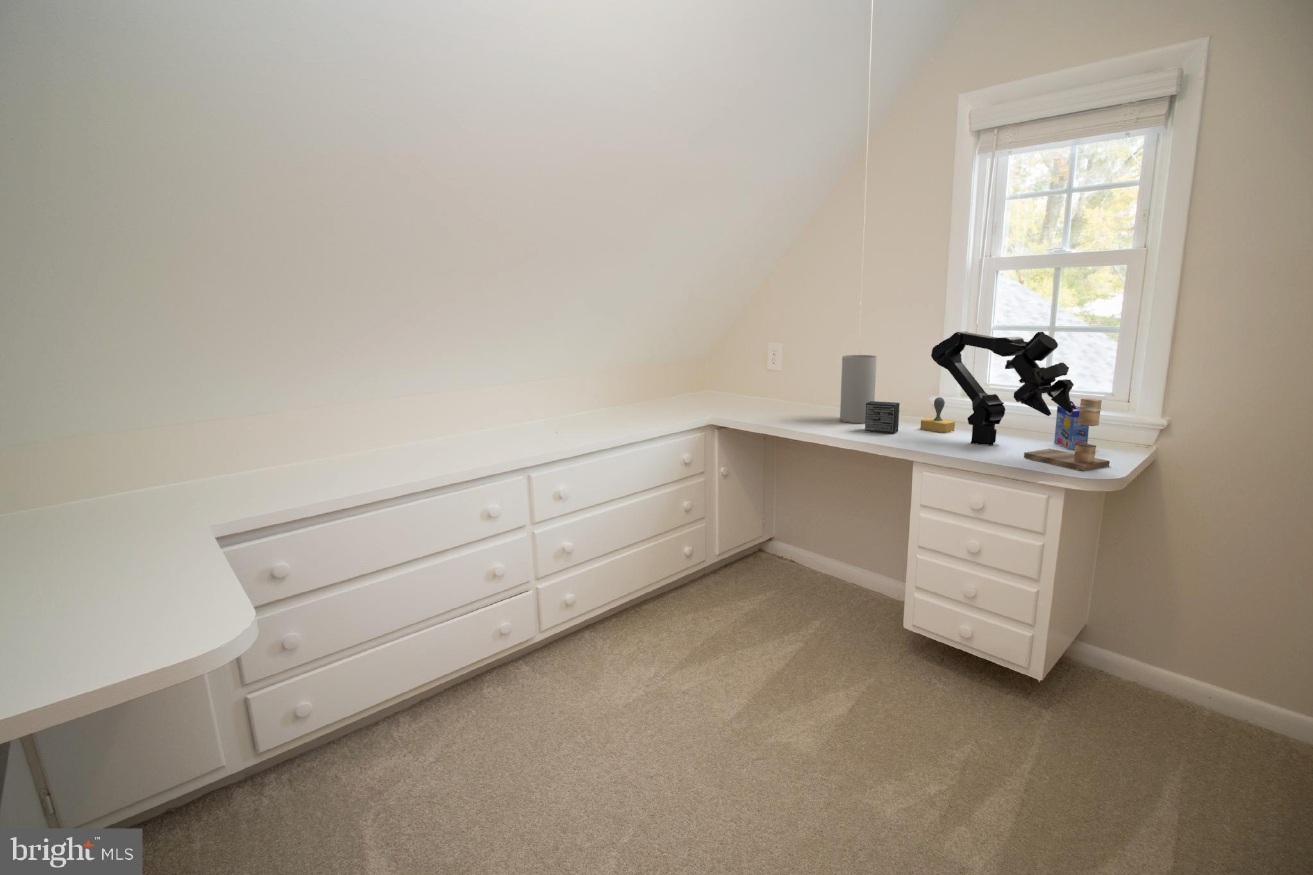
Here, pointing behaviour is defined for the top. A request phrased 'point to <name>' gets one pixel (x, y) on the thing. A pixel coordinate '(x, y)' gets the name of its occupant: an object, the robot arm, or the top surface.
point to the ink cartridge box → (1070, 428)
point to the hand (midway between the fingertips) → (1060, 413)
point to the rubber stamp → (938, 420)
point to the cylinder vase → (857, 386)
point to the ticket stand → (1070, 457)
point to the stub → (1089, 412)
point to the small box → (882, 417)
